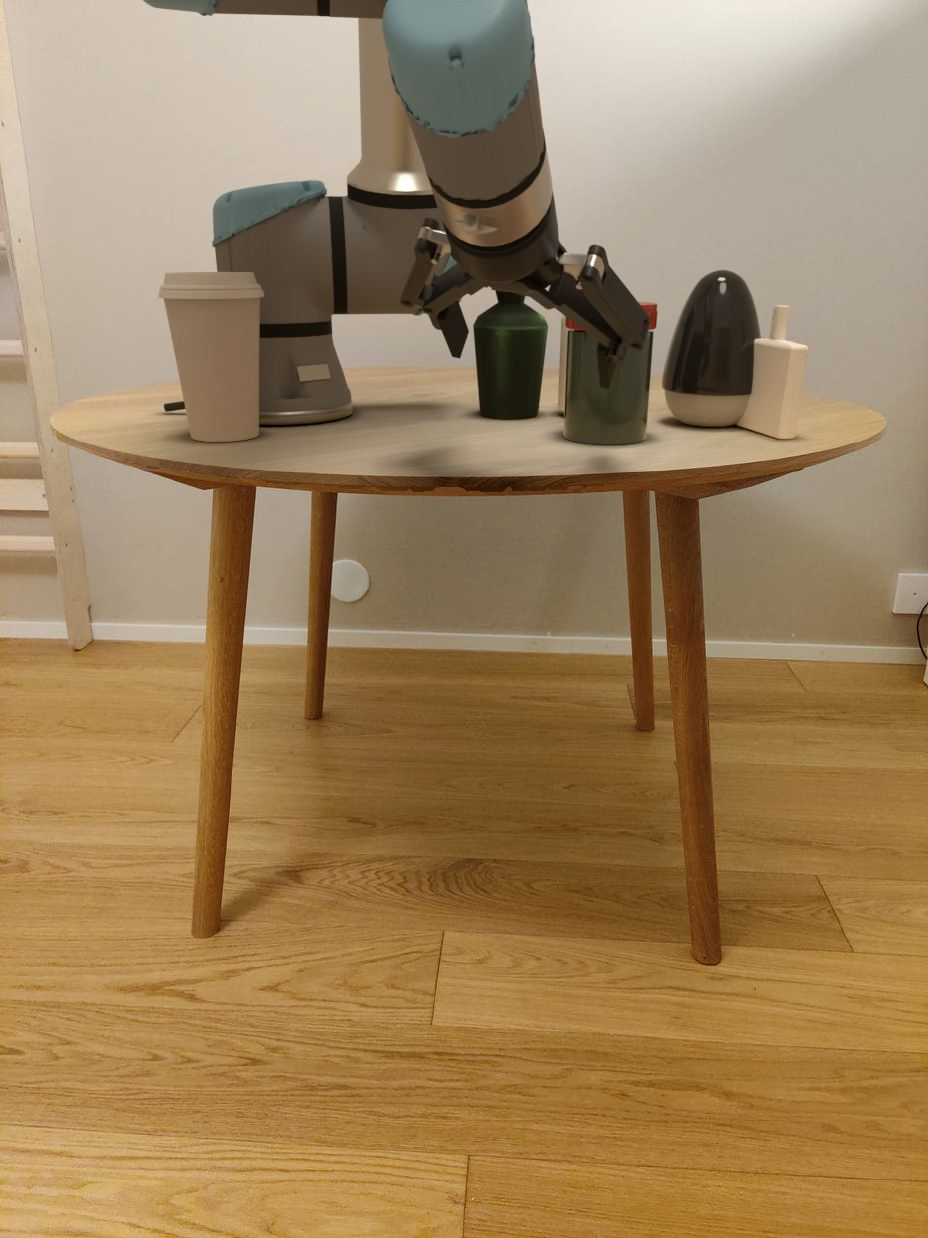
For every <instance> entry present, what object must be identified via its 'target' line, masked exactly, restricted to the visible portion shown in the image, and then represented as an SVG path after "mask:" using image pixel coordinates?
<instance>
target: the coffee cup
mask: <svg viewBox="0 0 928 1238" xmlns="http://www.w3.org/2000/svg"><path fill="white" fill-rule="evenodd" d="M159 288H160V289H159V290H158V298H159V299H163V303H164V307H165V312H166V318H167V322H168V326H169V332H170V338H171V342H172V347H173V352H174V358H175V363H176V368H177V373H178V377H179V383H180V388H181V393H182V398H183V401H184V404H185V409H184V410H185V414H186V419H187V424H188V425H187V426H188V429H189V434H190V439H192V440H194V441H198V442H206V443H233V442H242V441H247V440H251V439H255V438H257V437H259V435H260V425H259V323H260V297H264V293H263V290H262V289H261V286H260V285H259V284H257V282H256V278H255V275H254V273H253V272H217V271H178V272H177V271H176V272H174V271H173V272H172V271H171V272H165V273H164V279H163V284H161V285H160V287H159Z"/></svg>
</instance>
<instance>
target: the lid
mask: <svg viewBox="0 0 928 1238" xmlns="http://www.w3.org/2000/svg"><path fill="white" fill-rule="evenodd" d="M638 303H639V304H640V305H641V306H642V308H643V309H644V310H645V312H646V313H647V314H648V315H649V317H650V318H651V323H650V327H649V330H653V331H654V330H655V329H656V328H657V324H658V323H657V322H658V303H656V302H649V301H638ZM565 326H566V327H567V328H569V329H575V330H583V329H582V328H580V327H579V326H578V325H576V324H575V323H574V322H572V321H571V320H570V319H568V318H567V317H566V321H565Z"/></svg>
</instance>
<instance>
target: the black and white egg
mask: <svg viewBox="0 0 928 1238" xmlns="http://www.w3.org/2000/svg"><path fill="white" fill-rule="evenodd" d="M755 339H762V333H761V327H760V322H759V316H758V312H757V308H756V304H755V301H754V298H753V295H752V293H751V290H750V288H749V286H748V284H747V283H746V281H745V279H743V277H742V276H741V275H740V274H739V273H737V272H734V271H733V270H728V269H717V270H713V271H711V272H709V273H707V274H705V275H703V276H702V277H701V278H700V279H699V280H698V282H696V284H695V285H694V286H693V288H692V290H691V291H690V292H689V294H688V296H687V298H686V300H685V302H684V305H683V307H682V308H681V311H680V313H679V316H678V319H677V321H676V325H675V327H674V330H673V333H672V337H671V340H670V343H669V346H668V350H667V355H666V358H665V362H664V367H663V372H662V379H661V389H663V390H664V397H665V402H666V405H667V407H668V409H669V411H670V413H671V414H672V415H673V416H674V417H675V418H676V419H677V420H678V421H680V422H682V423H683V424H685V425H688V426H693V427H704V428H721V427H722V428H724V427H725V428H726V427H730V426H733V425H735V424H736V423H737V422H738V421H739V420H740V419H741V417H742V416H743V414H744V412H745V409H746V406H747V403H748V399H749V395H751V393H752V384H753V368H754V341H755Z"/></svg>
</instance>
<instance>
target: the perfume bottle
mask: <svg viewBox="0 0 928 1238" xmlns="http://www.w3.org/2000/svg"><path fill="white" fill-rule="evenodd" d="M790 309H791V306H790V305H786V304H785V305H784V304H782V305H781V304H779V305H778V304H775V305H773V309H772V316H771V324H770V332H769V338H761V339H755V341H754V368H753V384H752V393H751V395H749V399H748V403H747V406H746V409H745V412H744V414H743V416H742V417H741V419H740V420H739V421H738V422H737V423H735V424H736V426H738V427H741V428H743V429H746V430H750V431H752V432H756V433H759V434H762V435H766V436H767V437H768V436H769V437H771V438H774V439H777V440H793V439H794V438H796V436H797V428H798V422H799V415H800V410H801V409H800V408H801V402H802V396H803V389H804V384H805V383H804V382H805V375H806V371H807V370H806V369H807V363H808V357H809V347H808V346H807V344H802V343H798V342H795V341H790V340H787V338H786V337H787V329H788V324H789V314H790Z"/></svg>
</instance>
